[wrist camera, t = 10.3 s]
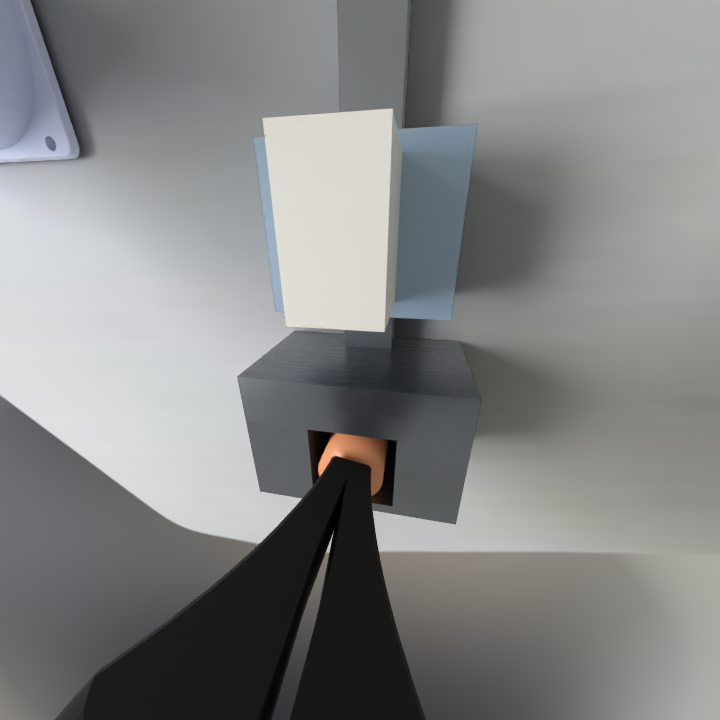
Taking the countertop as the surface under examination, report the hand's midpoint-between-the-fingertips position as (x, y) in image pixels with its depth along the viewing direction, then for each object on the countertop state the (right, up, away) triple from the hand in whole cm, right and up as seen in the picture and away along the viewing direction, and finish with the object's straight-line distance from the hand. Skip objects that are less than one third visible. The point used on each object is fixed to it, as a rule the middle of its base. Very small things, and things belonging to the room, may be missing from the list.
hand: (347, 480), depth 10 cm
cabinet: (+1, +3, +5) cm, 6 cm away
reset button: (+1, +2, +4) cm, 4 cm away
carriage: (+1, +9, +2) cm, 10 cm away
